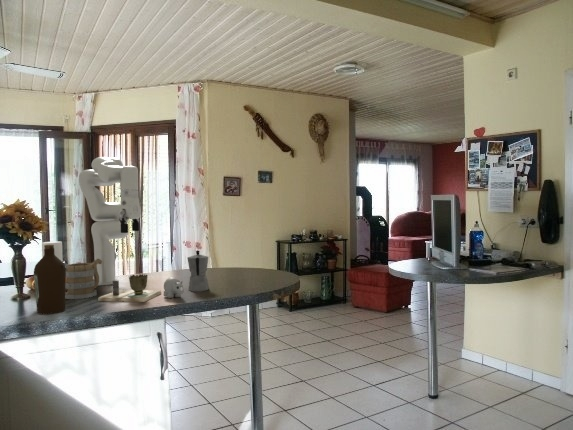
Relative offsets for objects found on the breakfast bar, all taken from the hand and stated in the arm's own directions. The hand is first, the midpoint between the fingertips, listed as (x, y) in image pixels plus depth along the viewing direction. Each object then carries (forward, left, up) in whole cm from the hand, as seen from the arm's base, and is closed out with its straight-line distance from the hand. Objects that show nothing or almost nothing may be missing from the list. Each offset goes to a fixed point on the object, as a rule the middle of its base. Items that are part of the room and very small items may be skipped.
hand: (130, 231), depth 201 cm
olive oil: (-13, -37, -27) cm, 48 cm away
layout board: (+5, -11, -27) cm, 30 cm away
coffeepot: (+29, +6, -27) cm, 41 cm away
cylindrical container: (-20, -26, -27) cm, 43 cm away
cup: (+10, -13, -26) cm, 31 cm away
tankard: (-18, -7, -28) cm, 33 cm away
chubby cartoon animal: (+25, -11, -28) cm, 39 cm away
